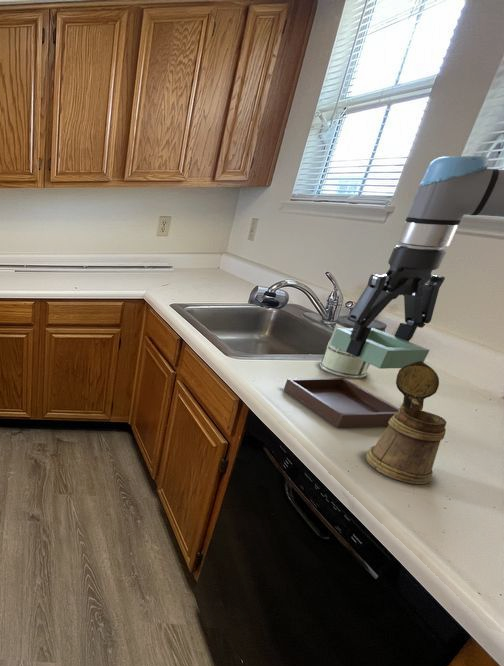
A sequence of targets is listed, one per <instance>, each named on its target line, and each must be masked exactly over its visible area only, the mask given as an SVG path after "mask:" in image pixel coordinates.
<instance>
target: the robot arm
mask: <svg viewBox="0 0 504 666" xmlns="http://www.w3.org/2000/svg"><path fill="white" fill-rule="evenodd" d="M488 164H489V157H487V156H483V155H482V156H481V155H475V156H474V155H473V156H470V155H457V156H456V155H455V156H454V155H453V156H440V157H437V158H435V159H433V160H432V161H431V162H430V163H429V165H428V167H427V169H426V170H425V173H424V175H423V177H422V179H421V182H420V183H419V185H418V188H417V191H416V193H415V196H414V198H413V200H412V203H411V205H410V208H409V211H408V213H407V215H406V218H405V221H404V223H403V226H402V228H401V230H400V233H399V235H398V237H397V240H396V242H397V243H398V244H399V245H395V246H394V247H393V249H392V251H391V254H390V256H389V258H388V261H387V263H388V265H389V269H388V270H387V272H386V273H384V274H376V273H372V274H371V275H370V276H369V277H368V282H367V284H366V286H365V288H364V290H363V292H362V293H361V295H360V296H359V298H358V300H357V302H356V303H355V304H354V306H353V308H352V309H351V311H350V313H349V314H348V315H347V316H348V318H347V320H348V321H351V322H353V323H354V324H355V325H354V328H353V330H352V333H351V335H350V339H351V341H350V343H349V345H348V348H347V350H346V352H348V353H350V354H352V355H354V356H356V357H359V356H360V354H361V352H362V349H363V347H364V344H365V342H366V340H367V338H368V335H369V333H370V330H371V327H369V324H370V323H371V322H372V321H373V320H374V319H375V320H376V318H377V317H378V316H379V315H380V314H381V313H382V312H383V310H384V309H385V308H386V307H387V306H388V305H389V304H390V303H391V302H392V301H394V300H396V299H397V298H398V297H399V296H403V303H404V322H400V323H399V325H398V326H397V329H396V332H395V334H394V336H395V337H398V338H401V339H403V340H406V341H408V342H410V341H412V339H413V336H414V335H415V333H416V331H417V328H420V329H422V328H424V327H425V326H426V324H429V323H430V322H432V318H433V314H434V311H435V307H436V303H437V300H438V295H439V292H440V288H441V286H442V285H443V283H444V281H445V280H446V277H445V276H443V275H440V274H433V273H432V272H433V271H435V270H437V269H439V268H440V266H441V264H442V262H443V260H444V257H445V255H446V253H447V251H446V249H445V248H448V247H449V246H451V243H452V241H453V239H454V237H455V235H456V232H457V230H458V228H459V226H460V223H461V220H462V219H463V217H464V216H482V217H483V216H484V217H499V218H504V169H498V168H488V167H489V165H488ZM364 318H365V320H364Z"/></svg>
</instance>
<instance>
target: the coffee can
mask: <svg viewBox="0 0 504 666" xmlns="http://www.w3.org/2000/svg"><path fill="white" fill-rule="evenodd" d="M348 316H349V315H339V316H337V317H336V320H335V324H334V327H333V329H332V332H331V335H330V337H329V340H328V343H327V346H326V348H325V351H324V354H323V356H322V359H321V362H320V364H319V367H320V368H321V369H322V370H324V371H326V373H327V372H328V373H329V374H332V375H335V376H339V377H343V378H351V379H361V378H364V377H366V375H367V372H368V370H369V367H370V365H371V364H369V363H367V362H365V361H363V360H361V359H359V358H357V357H355V356H353V355H351V354H348V353H346V352H344V351H342V350H340V349H338V348H336V347H334V346H332V345H330V344H331V342H332V339H333V337H334V334H335V331H336V329H337V328H354V325H355V324H354V323H353V322H351V321H348V320H347V318H348ZM364 320H365V318H364ZM369 327H371V328H375V329H378V330H380V331H383V332H385V330H386V329H387V327H388V325H387V324H386V323H385V322H383V321H381V320H378V319H376V318H375V319H374V320H373V321H372V322H371V323H370V324H369Z"/></svg>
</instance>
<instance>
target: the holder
mask: <svg viewBox="0 0 504 666" xmlns="http://www.w3.org/2000/svg"><path fill="white" fill-rule="evenodd" d="M283 391H284V392H285V393H287V394H288V395H290V396H292V398H294V399H295V400H297V401H299V402H300V403H301V404H303V405H304V406H306V407H307V408H308V409H310V410H311V411H313V412H314V413H316V414H317V415H319V416H320V417H321V418H323V419H324V420H325V421H327V422H328V423H330V424H331V425H333V426H334V427H336V428H337V429H338V428H339V429H342V428H344V429H345V428H368V427H369V428H370V427H373V428H374V427H388V426H389V423H388V422H389V420H390V418H391V417H392V416H393V415H394V414H397V413H398V411H399V409H400V407H397V406H395V405H394V404H392V403H390V402H388V401H386V400H385V399H383V398H381V397H379V396H378V395H376V394H374V393H372V392H370V391H368V390H367V389H365V388H362V387H361V386H359V385H357V384H355V383H354V382H352V381H350V380H348V379H347V378H346V377H317V378H315V377H314V378H287V379H286V382H285V385H284V388H283Z"/></svg>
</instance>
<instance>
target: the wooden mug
mask: <svg viewBox="0 0 504 666" xmlns="http://www.w3.org/2000/svg"><path fill="white" fill-rule="evenodd" d="M395 385H396V388H397V390H398V391H399V392H401V394H402V395H403V398H402V399H403V400H402V403H401V405H400V407H399V411H398V413H397V414H394V415H393V416H392V417H391V418H390V420H389V422H388V423H389V426H386V428H385V430H384V431H383V433H382V434H381V436H380V437H379V438H378V440H377V441H376V443H375V444H374V445H372V446H370V448H369V449H368V451H367V452H366V455H365V460H366V462H367V463H368V465H370V467H372V468H373V469H375V470H376V471H378V472H379V473H381V474H383V475H385V476H387V477H389V478H391V479H394V480H396V481H400V482H404V483H407V484H414V485H425V484H428V483H430V482H431V480H432V476H433V473H434V472H433V471H434V470H433V467H434V463H435V460H436V457H437V453H438V451H439V447H440V444H441V441H443V439H445V435H446V432H447V429H446V425H447V420H446V419H445V418H443V417H442V416H440V415H437V414H434V413H432V412H428V411H425V410H423V408H424V401H425V400H426V399H428V398H431V397H432V396H433V395H435V394H436V393H437V391H438V389H439V386H440V378H439V376H438V373H437V372H436V371H435V369H434V368H432V367H431V366H430V365H428V364H427V363H425V362H422V361H418V362H414V363H411V364H409V365H407V366H404V367H403V368H399V369H398V372H397V375H396V380H395Z"/></svg>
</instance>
